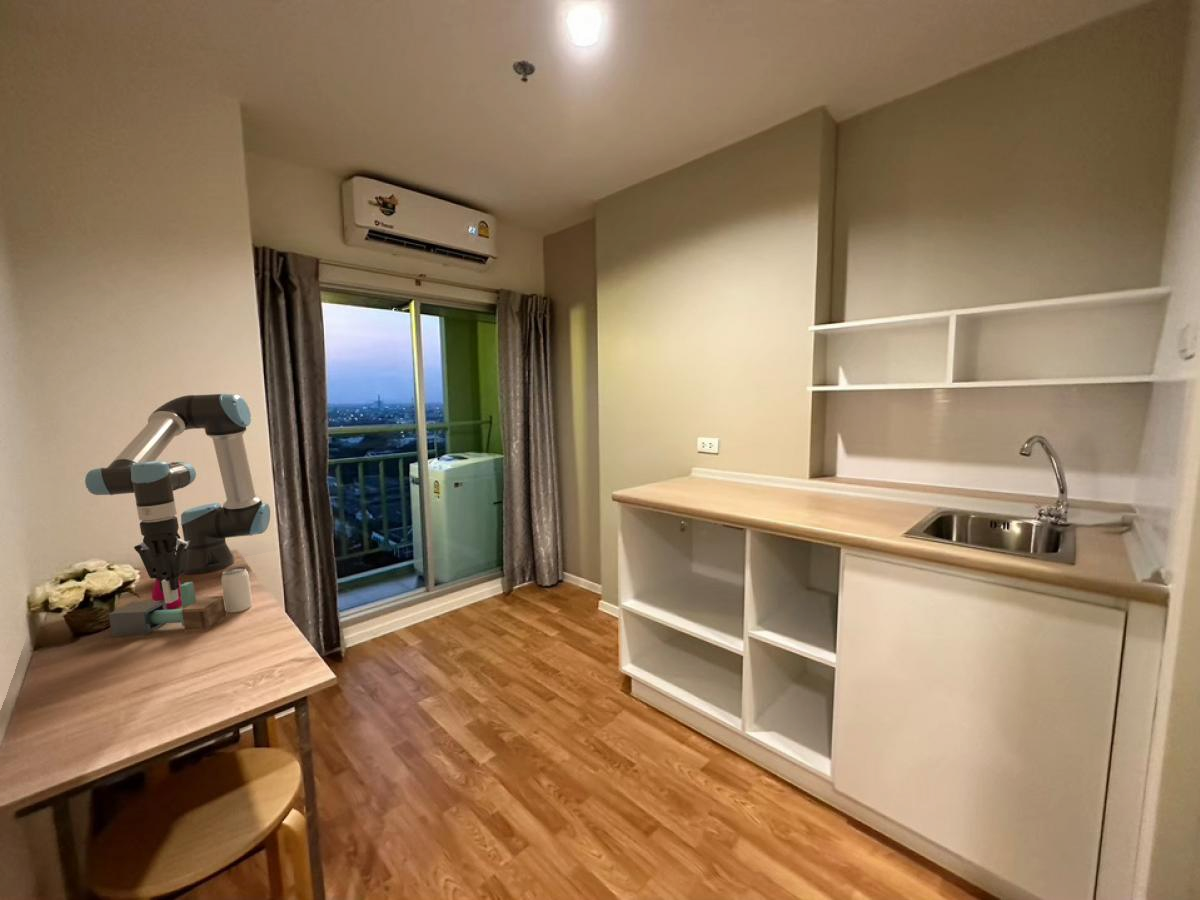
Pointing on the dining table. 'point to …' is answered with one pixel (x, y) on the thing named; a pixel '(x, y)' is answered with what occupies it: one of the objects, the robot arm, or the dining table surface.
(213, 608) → the socket
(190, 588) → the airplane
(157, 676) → the dining table surface
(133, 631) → the gray block
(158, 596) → the pepper mill
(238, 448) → the robot arm
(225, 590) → the can
